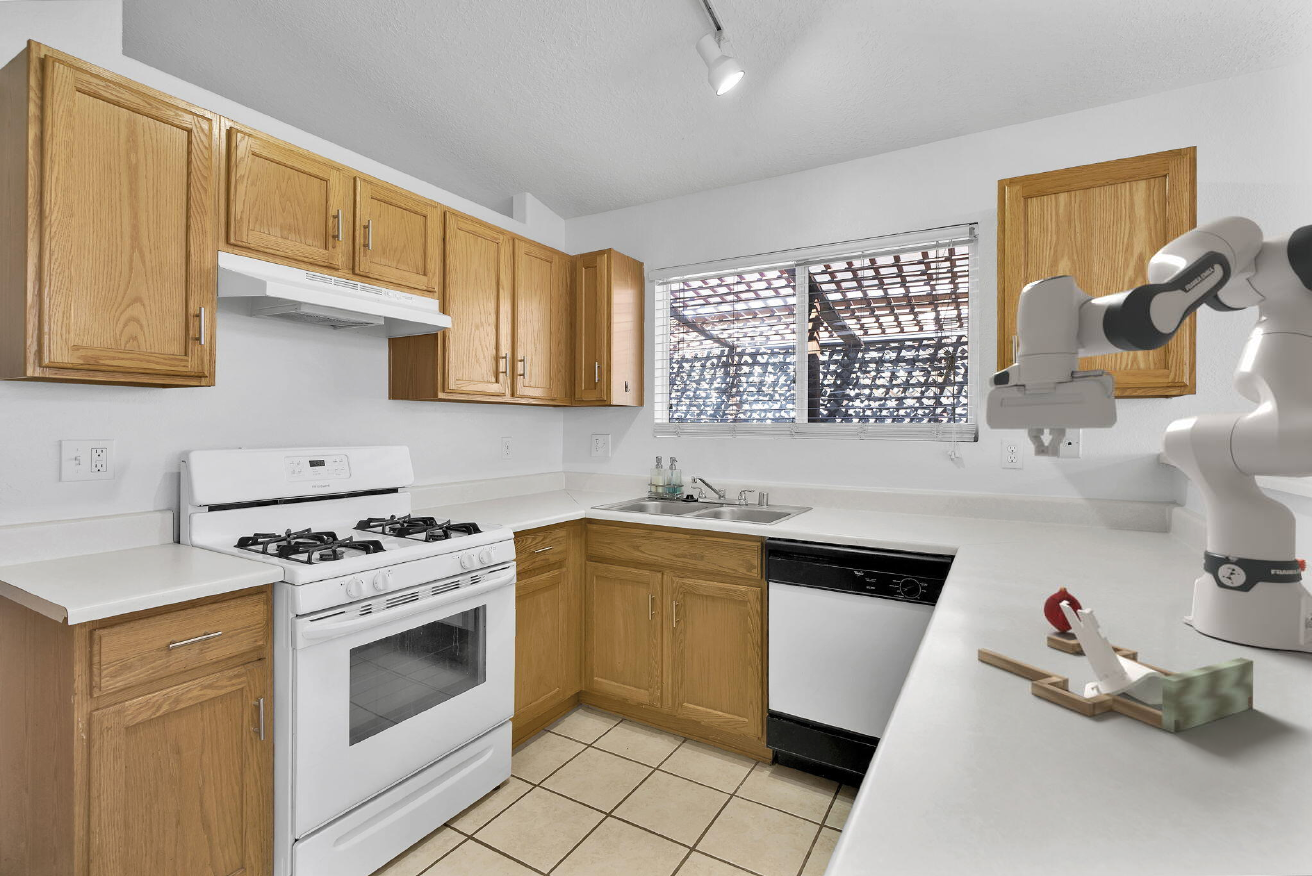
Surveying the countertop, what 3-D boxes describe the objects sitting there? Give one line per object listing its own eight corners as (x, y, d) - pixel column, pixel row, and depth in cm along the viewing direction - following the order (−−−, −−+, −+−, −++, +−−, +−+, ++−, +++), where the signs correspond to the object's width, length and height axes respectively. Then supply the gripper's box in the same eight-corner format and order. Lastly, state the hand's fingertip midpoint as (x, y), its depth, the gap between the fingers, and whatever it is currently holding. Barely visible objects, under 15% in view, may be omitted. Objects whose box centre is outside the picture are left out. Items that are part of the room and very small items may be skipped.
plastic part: (1170, 705, 80) (1172, 615, 79) (1099, 706, 79) (1101, 615, 79) (1120, 681, 87) (1122, 599, 87) (1055, 683, 86) (1057, 600, 86)
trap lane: (1069, 641, 104) (1070, 605, 104) (1271, 701, 80) (1271, 655, 80) (956, 663, 93) (956, 623, 93) (1150, 740, 70) (1151, 687, 70)
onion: (1089, 639, 105) (1089, 592, 105) (1052, 636, 106) (1052, 590, 106) (1073, 628, 111) (1074, 584, 111) (1038, 626, 112) (1038, 582, 112)
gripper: (1126, 368, 95) (1125, 458, 95) (1004, 379, 114) (1004, 454, 114) (1101, 366, 93) (1100, 458, 93) (980, 378, 111) (980, 454, 111)
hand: (1046, 456), depth 103 cm, fingers closed
